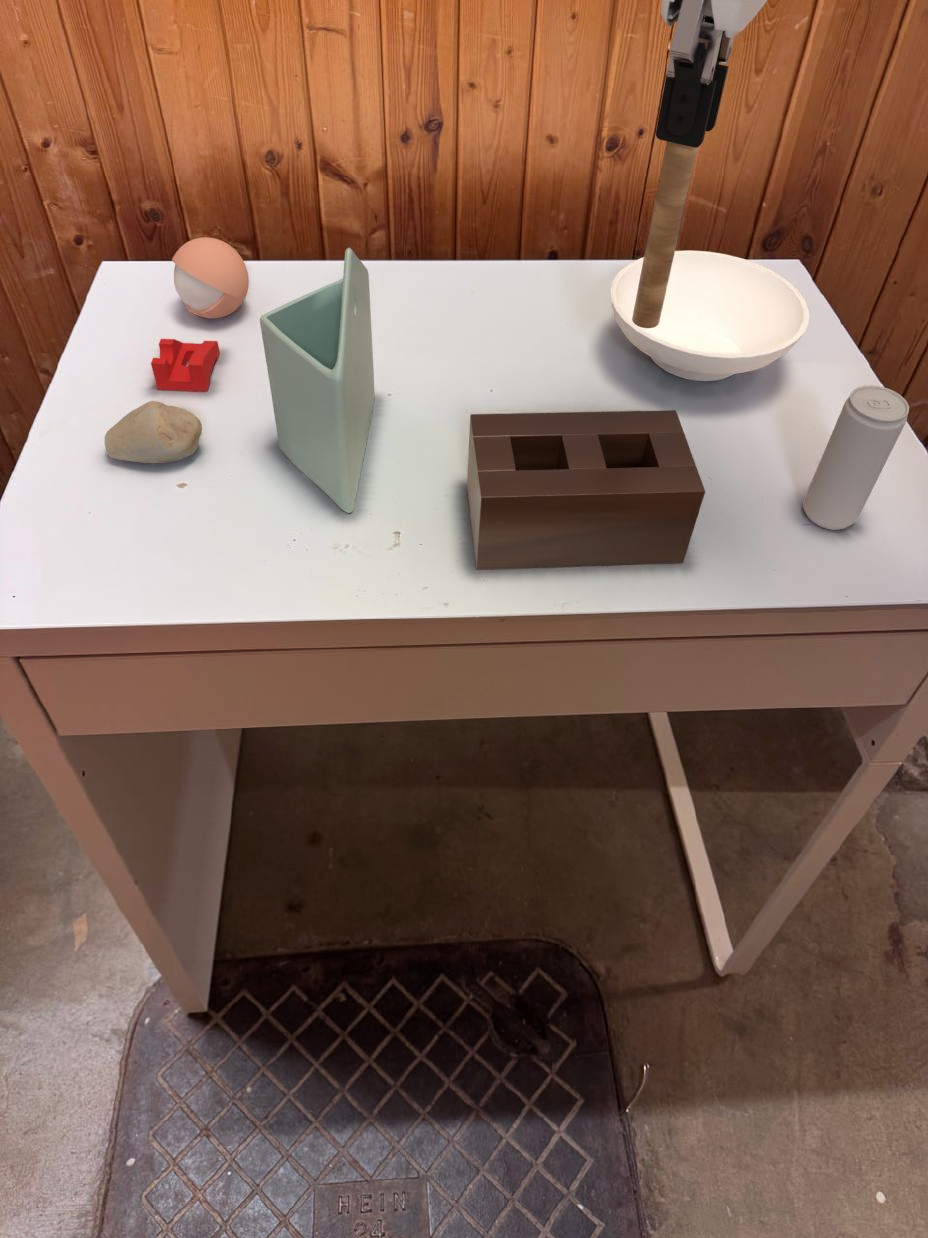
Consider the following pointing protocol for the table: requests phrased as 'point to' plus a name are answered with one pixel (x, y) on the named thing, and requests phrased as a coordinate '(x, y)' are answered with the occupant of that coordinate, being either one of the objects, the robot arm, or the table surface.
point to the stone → (154, 434)
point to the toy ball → (210, 277)
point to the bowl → (714, 316)
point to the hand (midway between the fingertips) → (685, 131)
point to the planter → (324, 380)
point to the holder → (581, 489)
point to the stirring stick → (664, 230)
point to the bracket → (184, 365)
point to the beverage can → (855, 456)
